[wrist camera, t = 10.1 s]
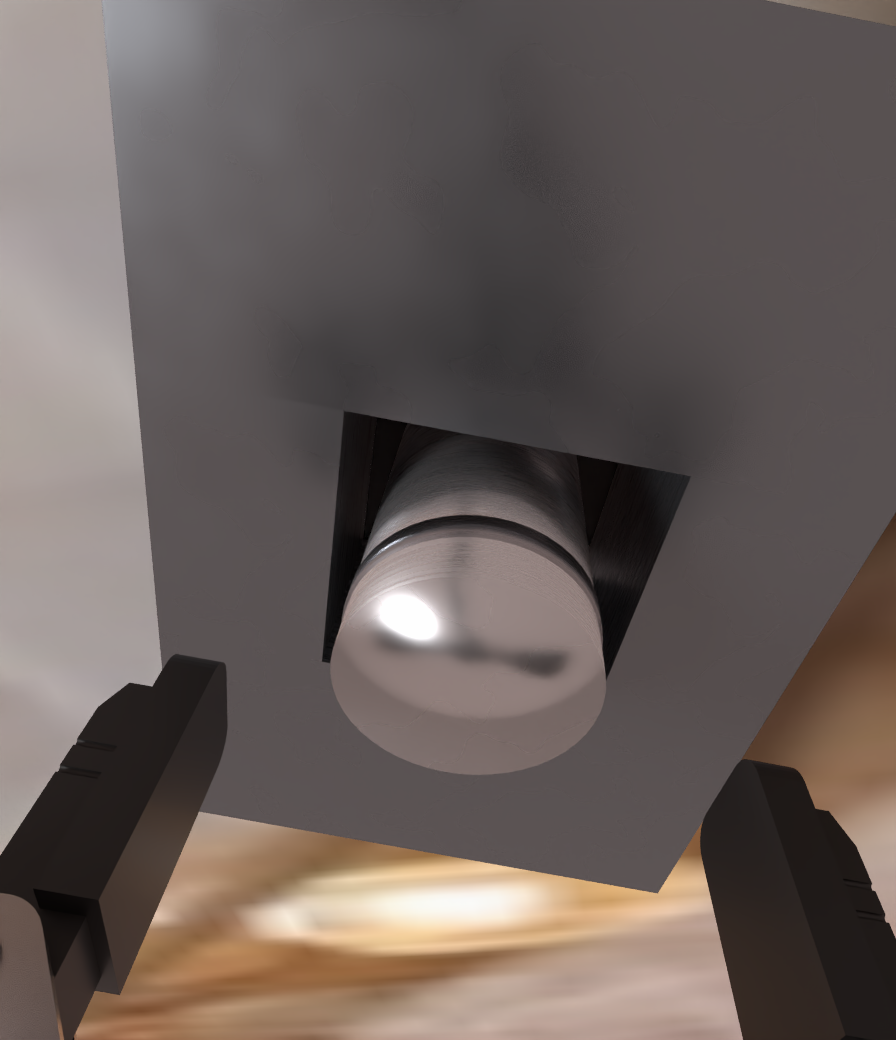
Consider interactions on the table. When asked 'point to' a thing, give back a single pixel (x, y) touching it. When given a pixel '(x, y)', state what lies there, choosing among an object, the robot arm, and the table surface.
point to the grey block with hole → (510, 364)
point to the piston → (473, 609)
